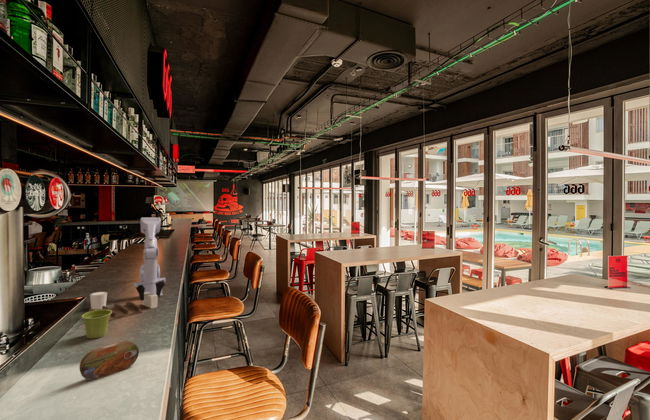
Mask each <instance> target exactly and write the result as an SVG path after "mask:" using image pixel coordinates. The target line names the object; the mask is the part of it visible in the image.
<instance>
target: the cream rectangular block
mask: <svg viewBox="0 0 650 420" xmlns="http://www.w3.org/2000/svg"><path fill="white" fill-rule="evenodd" d="M158 298H159V297H158V295H156V294H153V293H151V292H146V293H144V300H143V301H142V305H143V306H145V307H147V308H149V309H155V308H157V307H158V304H159V303H158V301H159V300H158Z"/></svg>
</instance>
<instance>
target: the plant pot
mask: <svg viewBox="0 0 650 420" xmlns="http://www.w3.org/2000/svg"><path fill="white" fill-rule="evenodd" d="M111 313H112V311H111V310H102V309H96V310H95V311H91V312H89V311H88V312H86V313H83V314H82V315H81V318H82V321H83V322H84V326H85V328H84V329H85V333H86V338H87V339H90V340H93V339H99V338H102V337H104V336H106V334H107V331H108V327H109V326H108V325H109V322H110V321H109V317H110V314H111Z"/></svg>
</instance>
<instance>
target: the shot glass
mask: <svg viewBox="0 0 650 420" xmlns="http://www.w3.org/2000/svg"><path fill="white" fill-rule="evenodd" d="M89 297H90V298H89V299H90V309H93V310H102V306H106V307H107V299H108V298H107V297H108V292H107V291H98V292H97V291H96V292H92V293H90V294H89Z"/></svg>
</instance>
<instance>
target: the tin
mask: <svg viewBox="0 0 650 420" xmlns="http://www.w3.org/2000/svg"><path fill="white" fill-rule="evenodd" d="M139 354H140V351H139V347H138V345H137V344H135V343H134V342H132V341H129V340H122V341H119V342H116V343H113V344H109V345H106V346H103V347H99V348H95V349H93V350H91V351H89V352H88V353H86V354H85V355H84V356H83V357H82V359H81V360H80V362H79V366H78V367H79V372H80V374H81V376H82V378H83V379H85V380H88V381H95V380H96V381H97V380H98V379H101V378H105V377H107V376H110V375H113V374H115V373H119V372H121V371H124V370H126V369H128V368H130V367H132V366H133V365H134V364H135V362H136V361H137V360H138V357H139Z"/></svg>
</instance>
